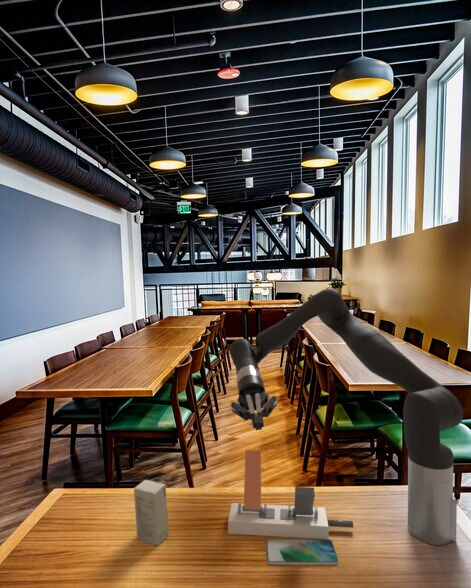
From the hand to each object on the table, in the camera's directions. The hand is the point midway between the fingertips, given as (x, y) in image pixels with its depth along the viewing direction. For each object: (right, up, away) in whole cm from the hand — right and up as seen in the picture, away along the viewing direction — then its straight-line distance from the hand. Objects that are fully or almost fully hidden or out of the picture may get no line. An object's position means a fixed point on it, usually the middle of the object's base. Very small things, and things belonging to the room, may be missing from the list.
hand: (258, 427), depth 94 cm
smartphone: (+8, -24, -11) cm, 28 cm away
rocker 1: (-2, -19, -2) cm, 19 cm away
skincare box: (-25, -24, -6) cm, 35 cm away
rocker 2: (+10, -19, -4) cm, 22 cm away
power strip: (+7, -23, -3) cm, 24 cm away
